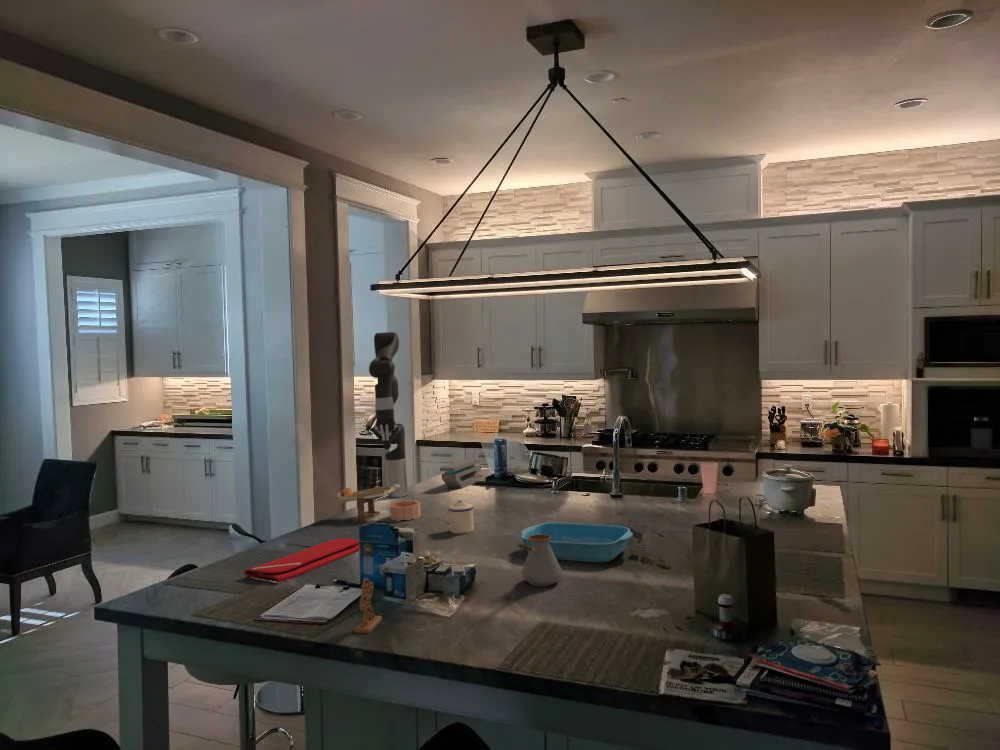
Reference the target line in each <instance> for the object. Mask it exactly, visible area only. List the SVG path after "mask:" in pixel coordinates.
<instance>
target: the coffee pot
mask: <svg viewBox="0 0 1000 750" xmlns="http://www.w3.org/2000/svg"><path fill="white" fill-rule="evenodd" d="M528 539H529V540H530V542H531V547H529V546H527V545H524V543H523V544H521V543H520V544H518V545H516V546H515V548H514V550H515V551H517V547H518V548H520V549H521V551H520V553H522V552H523V551H524V550H525V551H527V550H529V553H527V556H526V558H525V561H524V564H523V566H522V567H523V568H522V570H521V575H522V577H523V580H525V581H526V582H527V583H528V584H529V585H531V586H535V587H547V586H551V585H554V584H555V583H556V582H557V581H558V580H559V579H560V578H561V575H562V573H563V571H562V570H563V569H562V568H561V565H560V563H559V562H558V559H556V557H555V555H554V553H553V551H552V549H551V547H550V545H549V541H550V539H551V536H549V535H544V534H539V535H532V536H529V537H528Z"/></svg>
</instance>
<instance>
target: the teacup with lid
mask: <svg viewBox="0 0 1000 750" xmlns="http://www.w3.org/2000/svg"><path fill="white" fill-rule="evenodd" d="M445 514H446V515H448V516H449V522H447V521H446V520H445V518H444V516H445ZM440 516H441V517H440V518H441V521H442V523H443V524H445V525H446V526H450V527H449V528H450V532H451V533H452V534H456V535H458V534H459V535H461V534H469V533H472V532H473V531H474V530H475V528H474V527H475V526H474V525H475V524H474V506H473V504H471V503H468V502H466V501H464V500H463V498H458V499H457V502H454V503H452V505H449V507H448V511H444V512H443V513H442V514H441V515H440Z"/></svg>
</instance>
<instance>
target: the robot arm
mask: <svg viewBox="0 0 1000 750" xmlns="http://www.w3.org/2000/svg"><path fill="white" fill-rule="evenodd" d="M373 345H374V346H373V347H374V352H375V354H374V355H375V357H374V359H373V360H371V362H370V363H369V367H368V372H369V375H370V376H371V377H372V378H375V379H377V383H376V384H375V386H374V395H375V397H374V398H375V400H374V402H375V404H374V405H375V406H374V408H375V420H376V422H375V425H374V426H373V427H371V429H370V430H371V432H372V433H373V434H374V435H375V437H376V438H377V439H378V440H380V441H381V444H383V445H382V446H383V449H384V450H385V451H387V450H389V451H388V452H386V453H385V455H384V459H385V471H386V473H385V474H386V486H391V487H392V486H393V485H395V484H400V487H398V488H397V489H395V490H394V491H392V492H390V493H388V494H387V497H388V496H389V497H388V498H393V499H394V498H395V497H396V498H402V497H403V496H404V497H407V496H408V495H409V487H408V475H407V463H406V462H407V461H406V442H405V441H406V435H405V434H406V433H405V427H404V425H403V423H396V421H395V409H394V405H395V404H396V402H397V400H398V398H399V394H400V393H399V382H398V381H399V380H398V379H397V377H396V375H395V370H396V367H395V363H394V362H393V360H394V359H393V358H394V357H395V355H396V354H397V353H398V350H399V348H400V339H399V335H398V333H396V332H395V331H394V332H393V331H390V332H389V331H387V332H376V333H375V334H374V337H373ZM392 445H396V448H393V449H392V450H390V449H391V447H392ZM406 495H407V496H406Z"/></svg>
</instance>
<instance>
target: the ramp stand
mask: <svg viewBox="0 0 1000 750" xmlns="http://www.w3.org/2000/svg"><path fill="white" fill-rule="evenodd" d="M366 500H367V511H365V499H364V498H363V497H362V498H357V500H356V507H357V508H356V509H357V517H355V518H353V519H352V523H369V522H370V521H371V520H373V519H375V518H376V517H377V516H380V514H381V510H380V511H378V510H377V511H376V506H375V497H374V498H368V499H366Z"/></svg>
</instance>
